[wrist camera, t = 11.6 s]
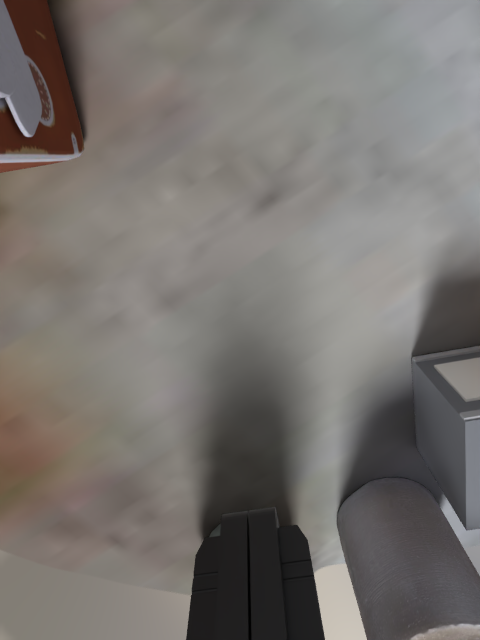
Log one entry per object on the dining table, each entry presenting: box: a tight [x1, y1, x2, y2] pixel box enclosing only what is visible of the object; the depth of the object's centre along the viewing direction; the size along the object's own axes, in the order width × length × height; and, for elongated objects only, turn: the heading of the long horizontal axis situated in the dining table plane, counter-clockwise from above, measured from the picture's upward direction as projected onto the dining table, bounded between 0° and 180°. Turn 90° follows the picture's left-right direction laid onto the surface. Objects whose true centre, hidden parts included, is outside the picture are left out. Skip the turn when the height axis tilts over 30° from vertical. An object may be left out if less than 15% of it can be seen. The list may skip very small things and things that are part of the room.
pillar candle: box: [337, 477, 480, 640], centre depth 34 cm, size 10×10×15 cm
